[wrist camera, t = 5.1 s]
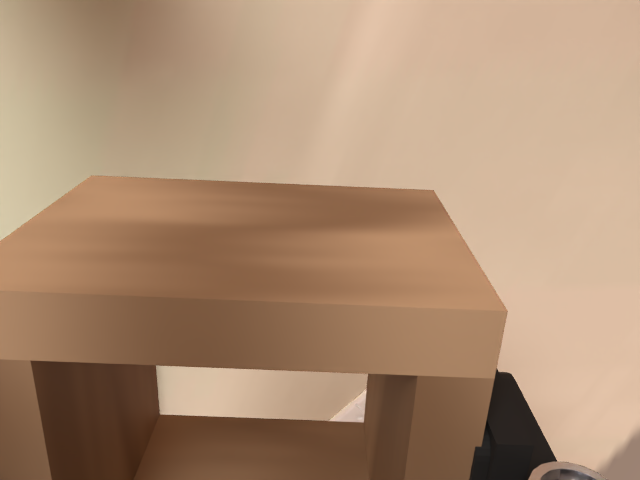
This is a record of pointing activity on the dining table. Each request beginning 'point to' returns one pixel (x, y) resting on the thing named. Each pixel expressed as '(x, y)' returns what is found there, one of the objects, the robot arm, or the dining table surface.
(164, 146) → the dining table surface
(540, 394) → the dining table surface
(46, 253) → the wooden box
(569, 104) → the dining table surface
